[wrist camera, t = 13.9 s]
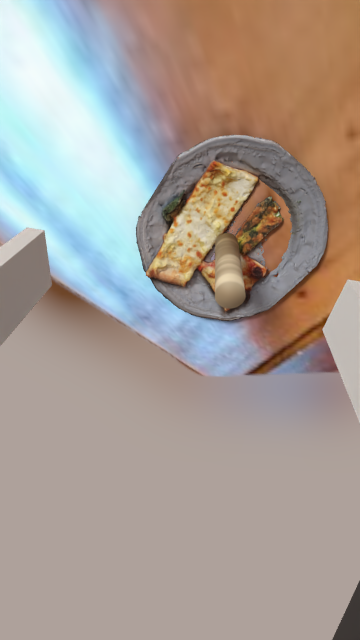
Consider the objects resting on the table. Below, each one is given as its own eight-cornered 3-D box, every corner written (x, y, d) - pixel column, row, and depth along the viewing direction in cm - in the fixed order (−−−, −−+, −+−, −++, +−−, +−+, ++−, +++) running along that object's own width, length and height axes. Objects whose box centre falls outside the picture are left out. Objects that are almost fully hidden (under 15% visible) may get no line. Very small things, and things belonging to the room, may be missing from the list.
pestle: (218, 230, 41) (219, 279, 31) (241, 235, 41) (249, 286, 31) (212, 252, 43) (211, 305, 33) (234, 256, 43) (240, 311, 33)
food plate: (232, 336, 54) (233, 349, 51) (112, 257, 48) (105, 268, 45) (358, 216, 42) (369, 225, 39) (218, 89, 35) (219, 88, 33)
